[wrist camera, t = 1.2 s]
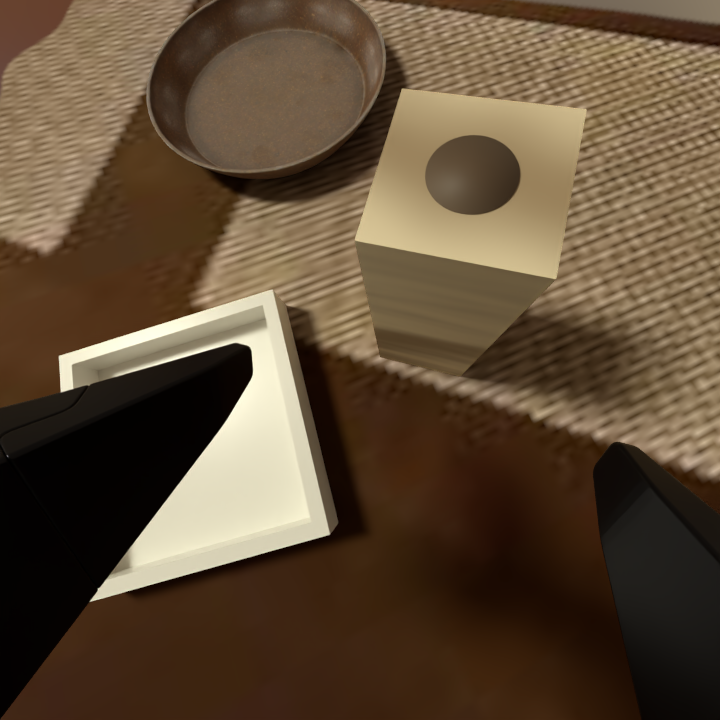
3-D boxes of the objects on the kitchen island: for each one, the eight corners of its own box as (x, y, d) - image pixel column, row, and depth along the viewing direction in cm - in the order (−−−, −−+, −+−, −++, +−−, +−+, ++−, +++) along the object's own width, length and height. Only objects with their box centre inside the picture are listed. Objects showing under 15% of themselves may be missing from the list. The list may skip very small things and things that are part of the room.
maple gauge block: (459, 376, 21) (556, 278, 8) (380, 356, 21) (354, 239, 9) (476, 301, 22) (587, 107, 9) (399, 285, 22) (402, 87, 10)
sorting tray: (338, 522, 20) (329, 534, 17) (112, 586, 20) (72, 606, 18) (285, 304, 23) (272, 289, 21) (93, 364, 24) (58, 356, 21)
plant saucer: (364, 0, 29) (361, -50, 26) (408, 171, 25) (410, 135, 22) (168, 53, 30) (143, 11, 27) (177, 225, 26) (148, 197, 23)
